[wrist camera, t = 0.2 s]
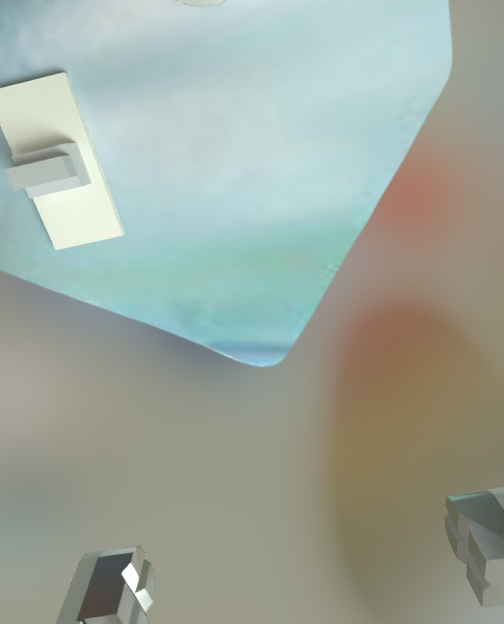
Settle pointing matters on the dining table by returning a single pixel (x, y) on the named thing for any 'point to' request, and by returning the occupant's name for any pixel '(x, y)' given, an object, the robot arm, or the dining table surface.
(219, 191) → the dining table surface
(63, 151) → the fulcrum stand
